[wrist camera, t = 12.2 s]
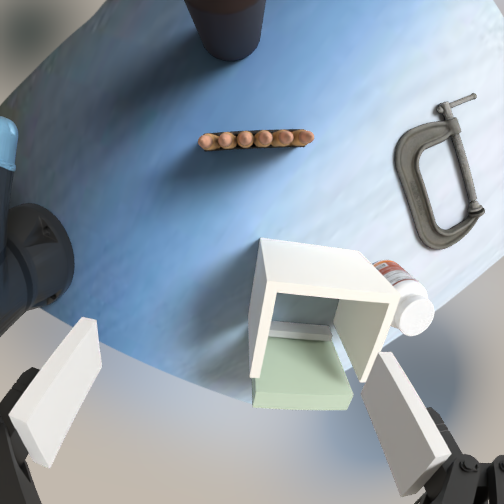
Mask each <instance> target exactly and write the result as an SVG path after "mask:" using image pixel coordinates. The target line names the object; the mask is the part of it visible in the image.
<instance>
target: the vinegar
mask: <svg viewBox="0 0 504 504" xmlns="http://www.w3.org/2000/svg"><path fill="white" fill-rule="evenodd" d="M184 1H185V3H186V6H187V8H188V10H189V12H190V15H191V17H192V19H193V22H194V24H195V26H196V28H197V31H198V33H199V35H200V38H201V40H202V42H203V45H204V47H205V48H206V50H207V51H208V52H209V53H210V54H211V55H213V56H214V57H216V58H218V59H221V60H225V61H235V60H239V59H243V58H245V57H246V56H248V55H250V54H251V53H252V52H253V51H254V50H255V49H256V48H257V46H258V43H259V41H260V35H261V29H262V22H263V16H264V9H265V3H266V0H184Z"/></svg>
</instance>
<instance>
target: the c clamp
mask: <svg viewBox="0 0 504 504" xmlns="http://www.w3.org/2000/svg"><path fill="white" fill-rule="evenodd" d="M476 98H477V95H476V94H475V93H472V94H471V95H469V96H467V97H464V98H462V99H459V100H457V101H454V102H452V103H449V102H443V103H440V104H439V106H440V107H438V108H437V111H438V112H439V113H443V115H444V118H445V121H437V122H430V123H426V124H423V125H420V126H418V127H415V128H413V129H410V130H409V131H407V132H406V133H405V134H404V135H403V136H402V137H401V139H400V140H399V142H398V144H397V147H396V152H395V164H396V169H397V172H398V175H399V178H400V180H401V183H402V186H403V189H404V192H405V195H406V198H407V200H408V204H409V207H410V210H411V213H412V216H413V219H414V222H415V225H416V229H417V232H418V235H419V237H420V239H421V240H422V242H423V243H424V244H425V245H427V246H428V247H430V248H432V249H445V248H448V247H450V246H452V245H453V244H455V243H457V242H458V241H459V240H461V239H462V238H463V237H464V236H465V235H466V234H467V233H468V232H469V231H470V230H471V229H472V227H473V226H474V225H475V223H476V222H477V220H478V218H479V217H480V216H482V215H483V214H484V213H485V210H484V208H483V207H482V205H479V204H478V202H477V201H475V200H476V199H477V197H476V193H475V189H474V188H475V187H474V183H473V179H472V176H471V172H470V168H469V164H468V161H467V157H466V155H465V154H466V153H465V151H464V147H463V144H462V142H461V141H462V140H461V138H460V135H459V133H460V132H461V129H460V126H459V123H458V120H457V118H455V117H453V114H452V111H451V108H453V107H455V106H457V105H460V104H462V103H465V102H467V101H469V100H472V99H476ZM449 136H451V137H452V140H453V144H454V146H455V150H456V153H457V157H458V159H459V163H460V167H461V170H462V174H463V178H464V182H465V186H466V190H467V193H468V197H469V200H470V201H471V202H470V203H469V205H470V206H469V208H468V209H467V211H468V213H469V216H468V217H467V218H466V219H465V220H464V221H463V222H461V223H459V224H458V225H456V226H454V227H452V228H450V229H448V230H444V229H441V228H440V227H438V226H437V224H436V222H435V218H434V215H433V211H432V207H431V204H430V201H429V198H428V194H427V191H426V188H425V185H424V182H423V179H422V176H421V173H420V170H419V159H420V156H421V154H422V152H423V151H424V150H425V149H427V148H429V147H432V146H434V145H436V144H439V143H441V142H443V141H445V140H446V139H447V138H448V137H449Z"/></svg>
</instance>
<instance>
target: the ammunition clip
mask: <svg viewBox="0 0 504 504" xmlns="http://www.w3.org/2000/svg"><path fill="white" fill-rule="evenodd" d="M313 140H314V135H313V133H312V132H310V131H306V130H304V129H289V130H254V131H235V132H220V133H207V134H204V135H203V136H201V137H200V138H199V139H198V144H199V145H200V146H201V147H202V148H203V149H204V151H205V152H206V151H219V150H234V149H253V148H281V147H305V145H307V144H308V143H311V142H312V141H313Z"/></svg>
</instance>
